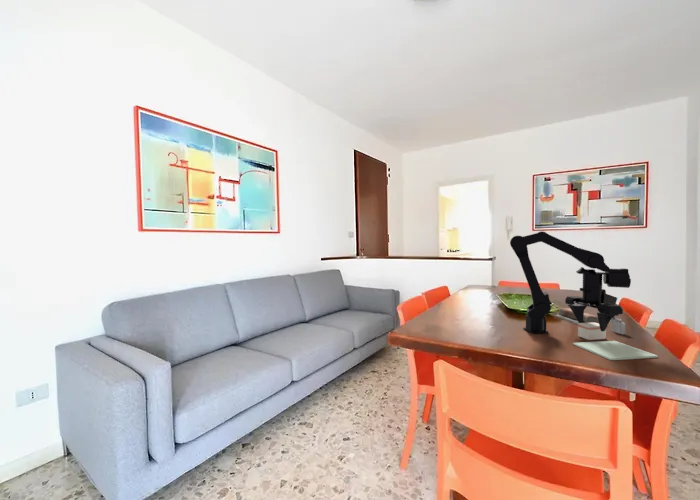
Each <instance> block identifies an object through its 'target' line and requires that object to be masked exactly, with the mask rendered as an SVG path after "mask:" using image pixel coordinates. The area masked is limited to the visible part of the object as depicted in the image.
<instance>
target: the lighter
mask: <svg viewBox="0 0 700 500" xmlns="http://www.w3.org/2000/svg"><path fill="white" fill-rule="evenodd" d="M610 322H611V332H613V333H616V334H619V335H626V322H623V321H622V319H621V318H616V316H614V317H613V318H612V319H611V320H610Z"/></svg>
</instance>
